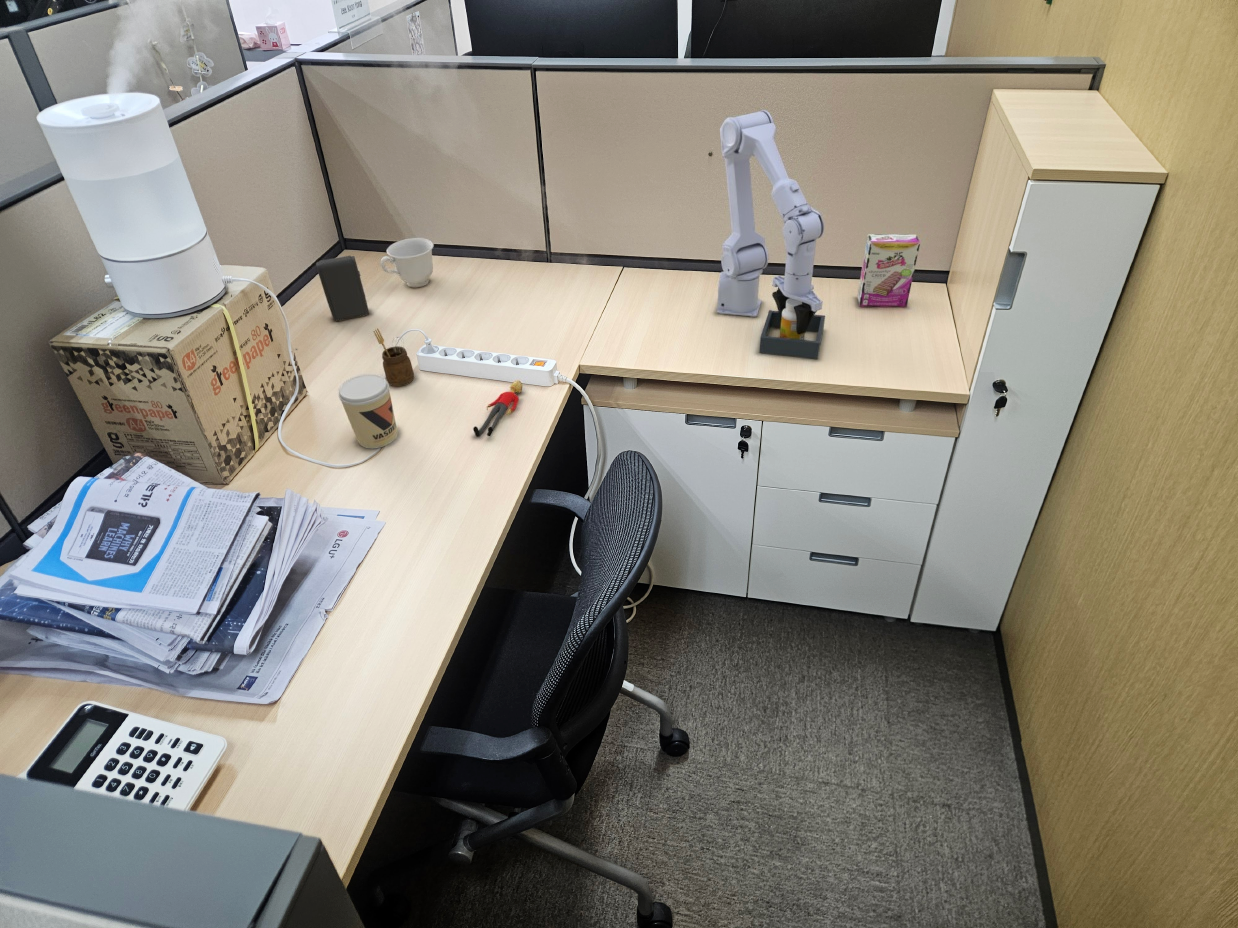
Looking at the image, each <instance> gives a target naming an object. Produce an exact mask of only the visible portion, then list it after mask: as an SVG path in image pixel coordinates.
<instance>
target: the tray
mask: <svg viewBox="0 0 1238 928" xmlns="http://www.w3.org/2000/svg"><path fill="white" fill-rule="evenodd" d="M825 321H826V314H825V315H824V314H814V316H813V317H812V319H811V321H810V323H809V326H808V328H807V331H806V332H812V333H817V334H816V340H807V339H804V340H799V339H789V338H780V336H770V331H771V328H772V329H773V328H774V329H781V322H780V318H779V312H778V310H771V309H770V310H768V312H767V315H766V319H765V321H764V325H763V328H762V332H761V335H760V336H759V337H760V340H759V352H758V353H759V354H764V355H774V356H783V357H792V358H801V359H812V360H818V359H819V355H820V349H821V345H822V339H823V335H824V328H825Z"/></svg>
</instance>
